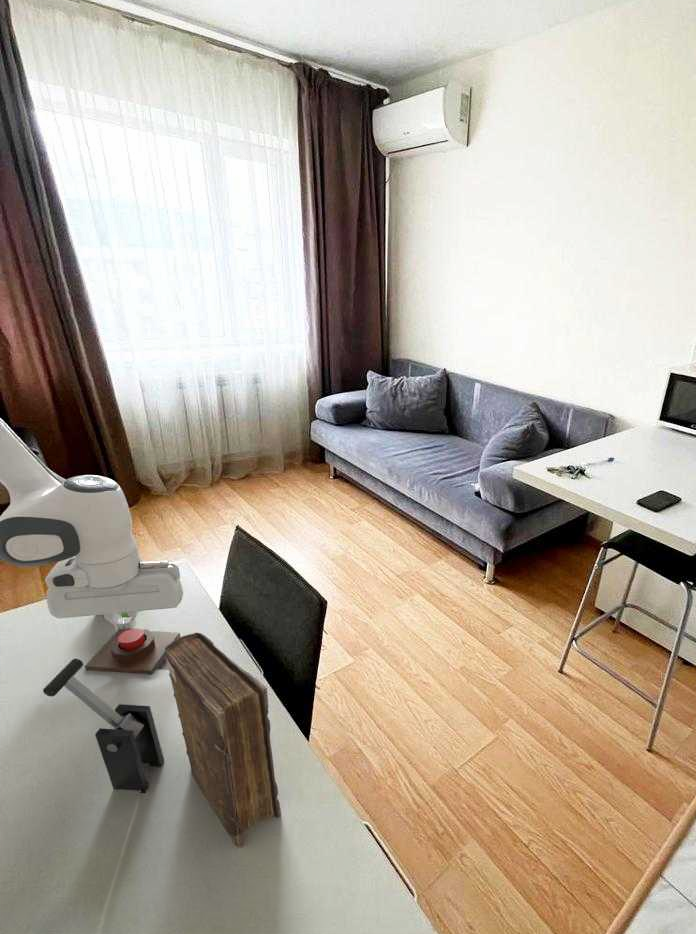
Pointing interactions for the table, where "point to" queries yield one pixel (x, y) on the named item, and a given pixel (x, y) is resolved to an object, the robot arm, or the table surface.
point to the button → (131, 639)
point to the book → (224, 732)
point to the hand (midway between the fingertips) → (126, 628)
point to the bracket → (130, 750)
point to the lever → (90, 698)
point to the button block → (133, 654)
